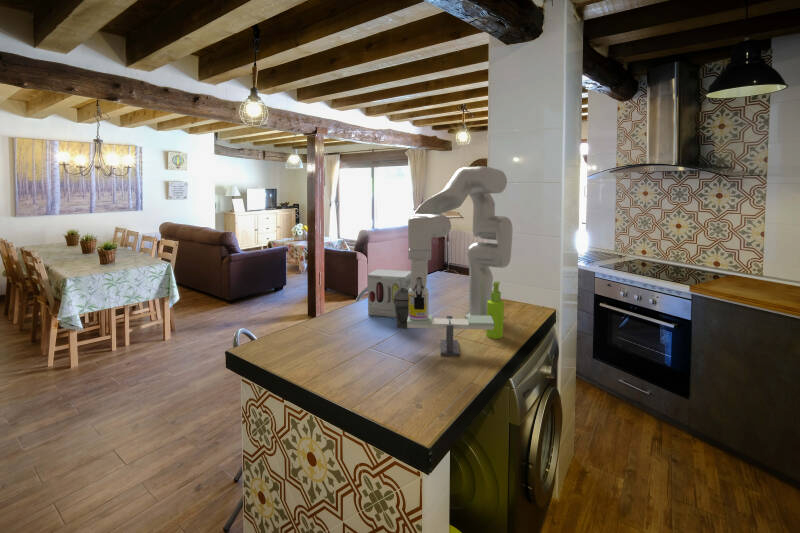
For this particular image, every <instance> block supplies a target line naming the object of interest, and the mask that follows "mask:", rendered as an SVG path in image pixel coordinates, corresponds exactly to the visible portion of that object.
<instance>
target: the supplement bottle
mask: <svg viewBox="0 0 800 533" xmlns="http://www.w3.org/2000/svg"><path fill="white" fill-rule="evenodd" d="M422 286H423V285H422ZM416 288H417V284H416ZM408 295H409V318H410V319H412V320H416V321H422V320H426V319H427V318H428V315H430V314H429V313H430V312H429V309H430V308H429V289H428V288H427V287H426V289H425V290H424V295H423V297H424V309H423V310H420V309H414V297H415V289H413V290H411V288H410V289H409V291H408Z"/></svg>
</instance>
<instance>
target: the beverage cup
mask: <svg viewBox="0 0 800 533" xmlns="http://www.w3.org/2000/svg"><path fill="white" fill-rule="evenodd" d="M399 282H400V289H398V290H397V291H396V292H395V294H394V304H395V311H396V317H395V319H396V326H397V328H398V329H402V330H403V329H408V328H407V319H408V315H409V295H408V291H409V290H407V289H406V288H401V280H400V277H399Z"/></svg>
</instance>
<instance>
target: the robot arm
mask: <svg viewBox="0 0 800 533" xmlns="http://www.w3.org/2000/svg"><path fill="white" fill-rule="evenodd" d="M507 180H508V178H507V175H506V173H505V172H504V171H502V170H501V169H497V168H493V167H489V166H483V165H482V166H481V165H480V166H464V167H460V168H458V169H457V170H455V172H454V174H453V175H452V177H451V178H450V179H449V181H448V182H447V183H446V185H445V186H444V188H443V189H442V190H441V191H439V192H438V193H436V194H434V195H433V196H431V197H430V198H428V199H426V200H424V201H423V202H422V203H421V204H419V205H418V207H417V209H415V210H414V212H413V214H412V216H411V217H409V218H408V222H407V224H408V225H407V227H408V228H407V229H408V230H407V238H408V239H407V240H408V245H407V246H408V248H407V249H408V250H407V251H408V254H407V255H408V260H410V261H411V262H410V263H411V264H410V267H411V268H410V271H411V290H413V289H415V297H414V309H420V310H423V309H424V297H423V295H424V290H425V289H426V288H427V283H428V274H429V273H428V270H429V269H428V267H429V266H428V265H429V264H428V263H429V261H430V260H432V238H433V237H434V238H444V237H445V236H447V235H449V233H450V231H451V229H452V224H451V220H450V218H448V217H447V216H446V215H443V213H447V212H451V211H454V210H457V209H458V208H460V207H461V206H462V205H463V203H464V202H465V200H466V199H467V198H468V196H469V197H470V198H471V201H472V204H473V209H472V210H473V211H472V214H473V215H472V234H473V236H474V237H475V238H476V239H481V240H488V241H489V240H493V241H496V243H493V242H482V241H477V242H473V243H471V244H470V245H469V246H468V249H467V252H466V253H467V255H466V256H467V261H468V268H469V269H468V272H469V278H468V279H469V280H468V311H466V312H464V318H465V319H467V315H480V316H487V301H488V300H491V292H492V291H493V283H494V277H493V273H492V270H491V269H490V268H491V267H492V268H499V269H502V268H504V269H505V268H506V267H508V266H509V265H510V262H511V258H512V249H513V248H512V247H513V246H512V244H513V229H514V227H513V223H512V221H511V219H510V218H509V217H507V216H502V215H496V214H495V212H496V211H495V210H496V209H495V208H496V203H495V200H494V198H493V197H492V194H500V193H503V192H504V191H505V190H506V189H507V188H506V187H507V184H508V181H507ZM416 284H417V288H416ZM422 285H423V286H422Z"/></svg>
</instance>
